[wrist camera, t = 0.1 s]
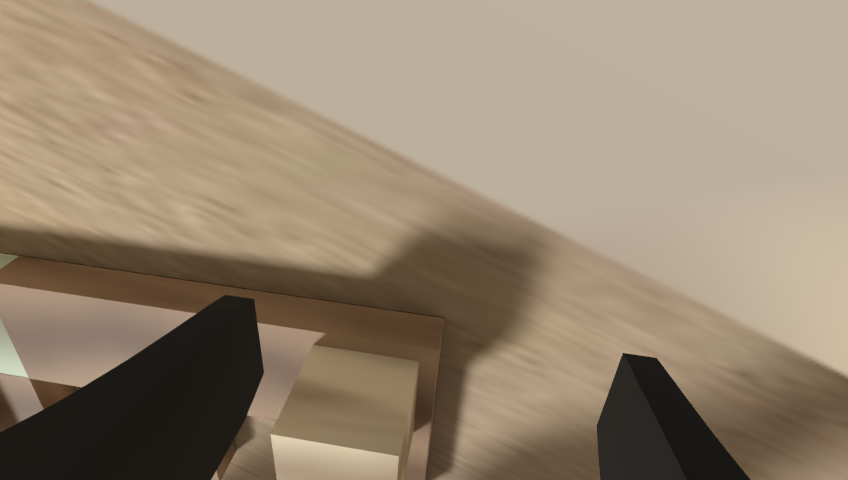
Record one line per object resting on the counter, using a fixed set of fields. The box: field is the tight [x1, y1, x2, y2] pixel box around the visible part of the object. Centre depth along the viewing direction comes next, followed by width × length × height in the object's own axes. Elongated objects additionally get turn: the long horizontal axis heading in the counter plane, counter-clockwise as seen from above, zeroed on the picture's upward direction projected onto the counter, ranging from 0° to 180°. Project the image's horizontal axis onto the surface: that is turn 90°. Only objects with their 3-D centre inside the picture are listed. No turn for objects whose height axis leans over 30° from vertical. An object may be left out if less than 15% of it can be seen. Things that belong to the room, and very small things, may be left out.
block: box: [270, 345, 419, 480], centre depth 21 cm, size 4×4×4 cm
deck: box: [0, 253, 444, 480], centre depth 25 cm, size 12×24×4 cm, turn 86°
